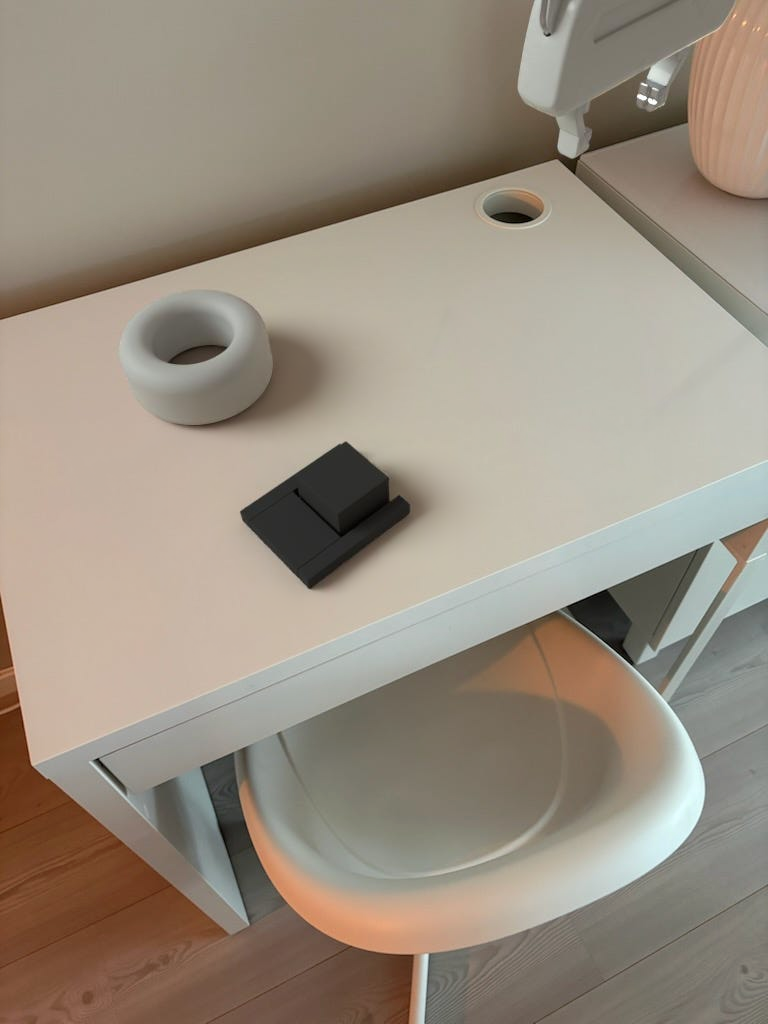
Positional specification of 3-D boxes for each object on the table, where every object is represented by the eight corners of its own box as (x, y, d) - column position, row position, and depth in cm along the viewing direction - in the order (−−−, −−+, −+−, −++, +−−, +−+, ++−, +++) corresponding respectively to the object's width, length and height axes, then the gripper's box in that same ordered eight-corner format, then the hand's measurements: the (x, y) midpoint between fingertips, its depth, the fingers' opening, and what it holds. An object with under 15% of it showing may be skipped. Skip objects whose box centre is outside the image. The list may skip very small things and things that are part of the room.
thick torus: (109, 415, 78) (86, 368, 72) (170, 321, 86) (154, 273, 81) (244, 442, 75) (231, 395, 70) (293, 343, 83) (286, 294, 78)
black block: (389, 504, 70) (389, 477, 67) (340, 540, 68) (337, 514, 65) (348, 467, 73) (345, 440, 70) (300, 501, 71) (295, 474, 67)
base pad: (410, 513, 70) (410, 503, 68) (309, 589, 65) (307, 581, 64) (341, 452, 74) (339, 443, 73) (242, 520, 70) (239, 511, 68)
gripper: (594, -33, 41) (554, 200, 52) (796, -125, 48) (723, 96, 60) (508, -62, 43) (487, 165, 55) (711, -145, 51) (657, 70, 62)
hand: (611, 128), depth 57 cm, fingers open, 8 cm apart
